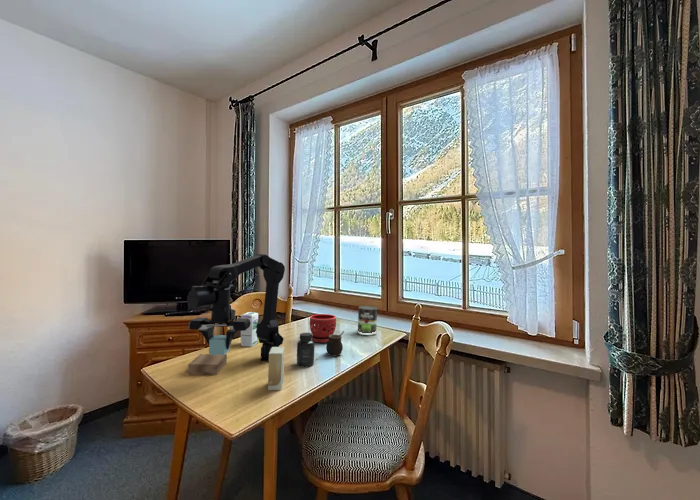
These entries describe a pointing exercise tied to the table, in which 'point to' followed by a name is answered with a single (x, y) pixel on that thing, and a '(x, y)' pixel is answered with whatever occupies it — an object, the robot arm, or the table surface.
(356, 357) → the table surface
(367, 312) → the coffee can
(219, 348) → the teal cube
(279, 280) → the robot arm
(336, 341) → the mate gourd
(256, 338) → the syrup box
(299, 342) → the supplement bottle
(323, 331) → the plant pot
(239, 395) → the table surface
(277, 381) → the skincare box
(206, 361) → the walnut block
